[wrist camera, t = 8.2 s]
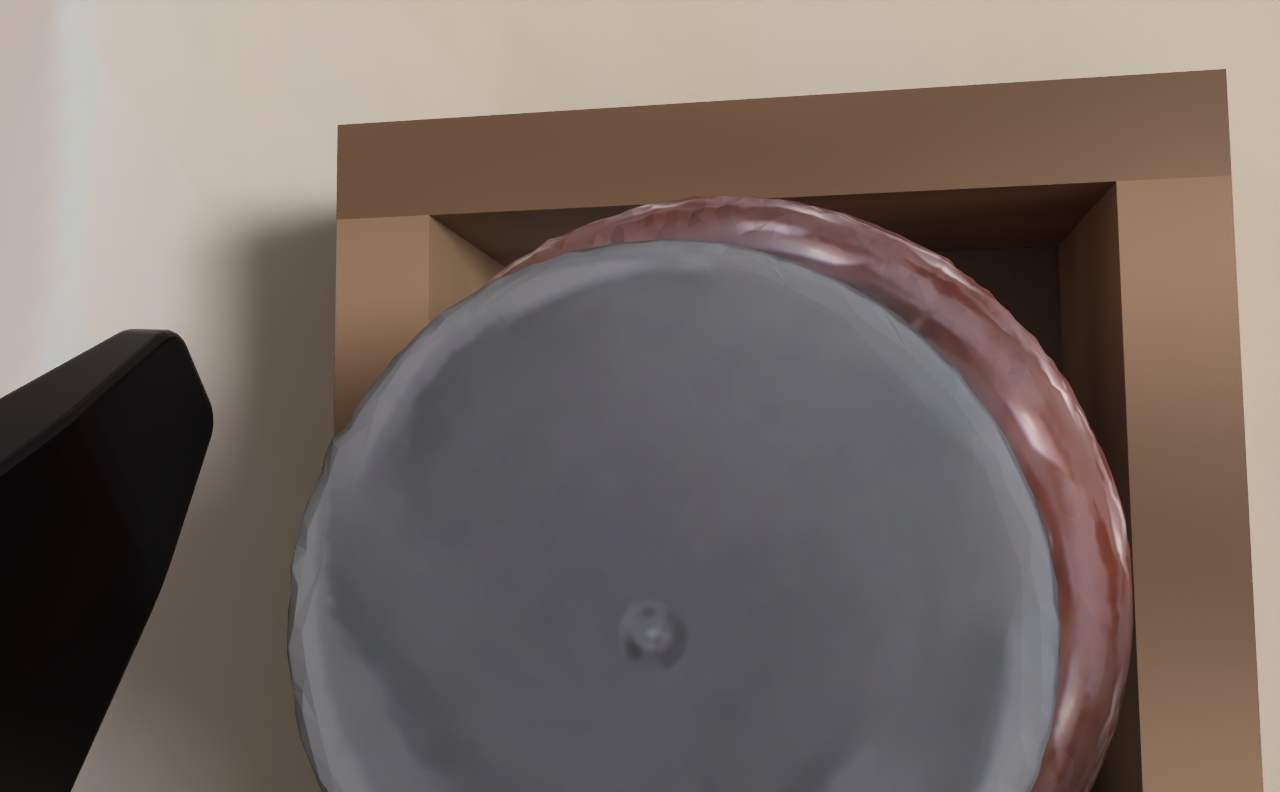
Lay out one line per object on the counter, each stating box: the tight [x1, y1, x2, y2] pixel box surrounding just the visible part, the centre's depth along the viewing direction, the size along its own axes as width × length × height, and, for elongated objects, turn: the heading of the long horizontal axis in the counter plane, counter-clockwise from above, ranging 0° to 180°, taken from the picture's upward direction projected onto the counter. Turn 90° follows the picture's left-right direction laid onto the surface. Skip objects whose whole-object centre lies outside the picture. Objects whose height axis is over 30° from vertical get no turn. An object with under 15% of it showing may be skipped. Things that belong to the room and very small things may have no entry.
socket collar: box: [334, 69, 1263, 792], centre depth 15 cm, size 10×10×4 cm
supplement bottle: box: [287, 195, 1134, 792], centre depth 11 cm, size 6×6×11 cm
